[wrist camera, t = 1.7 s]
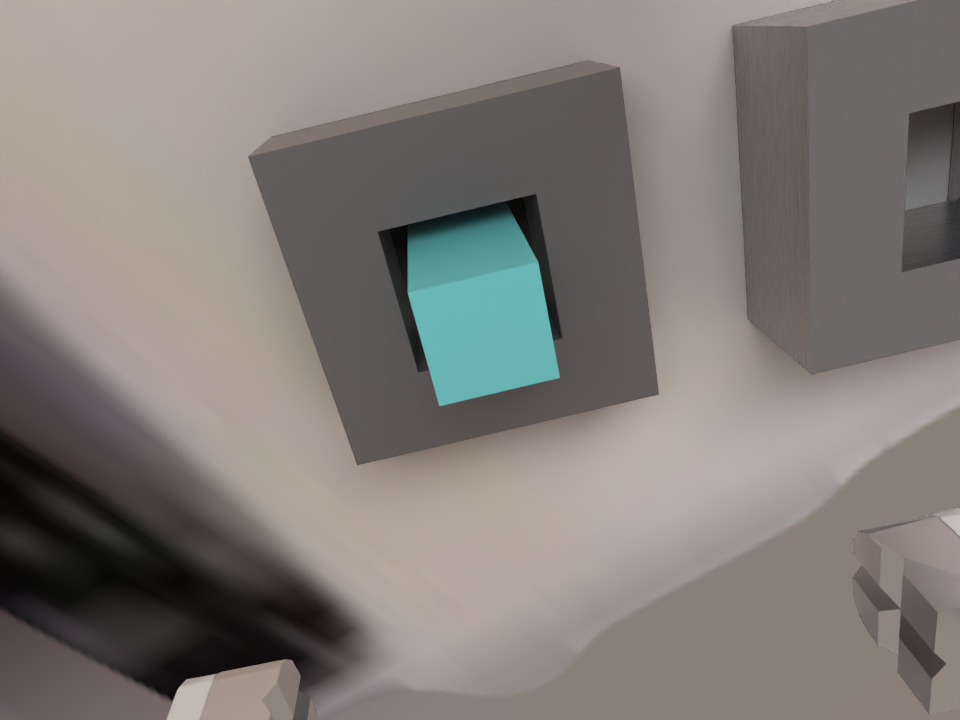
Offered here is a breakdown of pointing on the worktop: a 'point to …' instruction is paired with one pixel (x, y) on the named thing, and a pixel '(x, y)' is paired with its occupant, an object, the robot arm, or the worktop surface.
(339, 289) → the holster
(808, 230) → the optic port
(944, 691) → the robot arm
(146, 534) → the worktop surface
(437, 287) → the plug
